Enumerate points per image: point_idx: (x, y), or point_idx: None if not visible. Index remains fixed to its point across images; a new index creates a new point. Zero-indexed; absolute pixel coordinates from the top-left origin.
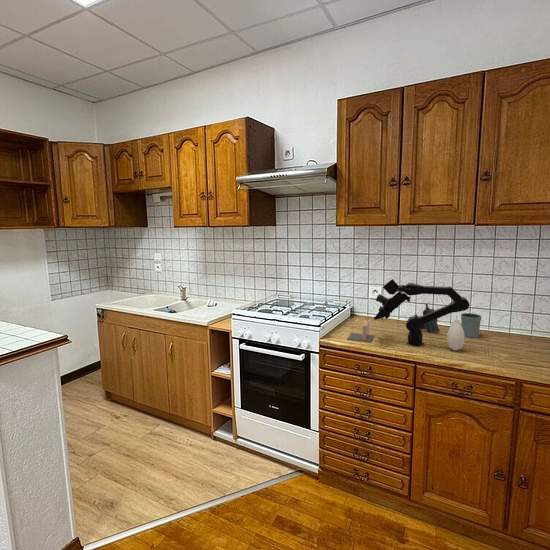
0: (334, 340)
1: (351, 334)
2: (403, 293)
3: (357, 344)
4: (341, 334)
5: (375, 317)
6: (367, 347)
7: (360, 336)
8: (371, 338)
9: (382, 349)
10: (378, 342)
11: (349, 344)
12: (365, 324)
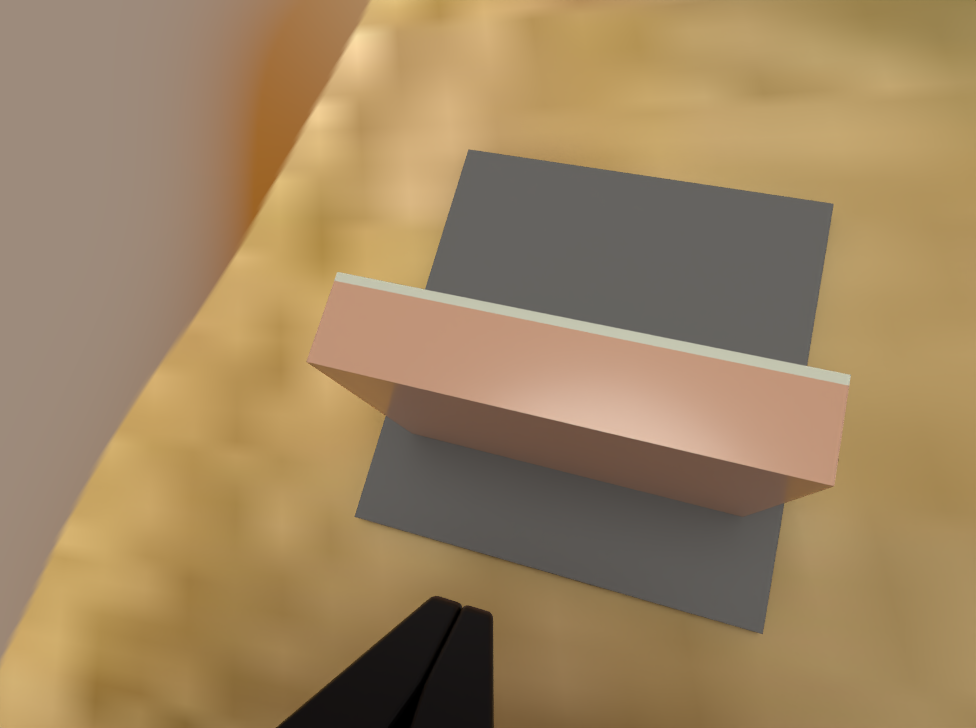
0: (433, 6)
1: (723, 206)
2: None
3: (274, 300)
4: (750, 67)
5: (361, 674)
6: (147, 434)
7: None
8: (530, 544)
9: (50, 658)
10: None
11: (273, 195)
12: (474, 350)
